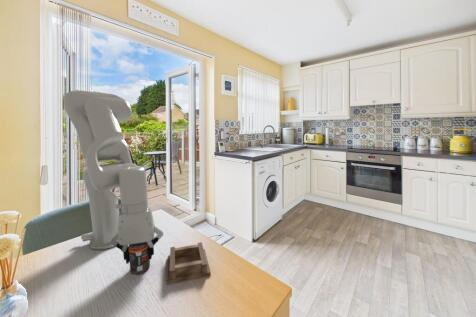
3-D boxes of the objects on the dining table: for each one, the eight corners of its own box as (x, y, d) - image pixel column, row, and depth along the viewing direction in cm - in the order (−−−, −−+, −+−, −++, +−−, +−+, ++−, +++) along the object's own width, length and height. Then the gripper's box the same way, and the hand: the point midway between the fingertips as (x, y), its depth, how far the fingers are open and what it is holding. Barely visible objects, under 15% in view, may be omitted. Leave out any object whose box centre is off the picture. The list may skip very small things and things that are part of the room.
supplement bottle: (145, 275, 66) (142, 241, 64) (126, 274, 66) (123, 241, 64) (153, 262, 71) (150, 231, 70) (136, 262, 72) (133, 231, 70)
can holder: (166, 284, 62) (166, 272, 61) (168, 258, 74) (167, 247, 73) (210, 275, 65) (210, 263, 65) (204, 251, 78) (204, 241, 77)
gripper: (99, 214, 59) (106, 272, 62) (163, 207, 64) (167, 260, 67) (107, 205, 66) (113, 257, 69) (164, 199, 71) (167, 248, 74)
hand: (139, 258), depth 68 cm, fingers closed on supplement bottle, 6 cm apart
